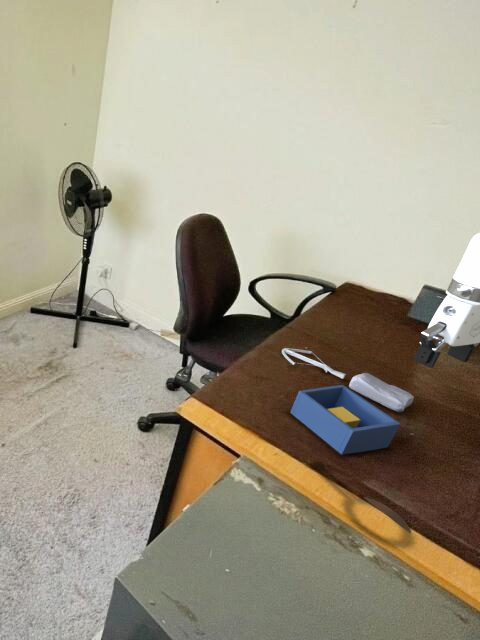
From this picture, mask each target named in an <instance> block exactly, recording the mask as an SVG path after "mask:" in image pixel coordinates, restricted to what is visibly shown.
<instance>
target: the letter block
mask: <svg viewBox="0 0 480 640" xmlns="http://www.w3.org/2000/svg"><path fill="white" fill-rule="evenodd" d="M327 410H328V411H330V412H331V413H332V414H334V415H335V416H336V417H338V418H339V419H340V420H342V421H343V422H344V423H346V424H347V425H348V426H350V427H351V428H352V429H353V428H357V426H358V424H359V422H360V419H359V418H357V417H356V416H355V415H353V414H352V413H350V412H349V411H348V410H346V409H345V408H343V407H337V408H330V409H327Z"/></svg>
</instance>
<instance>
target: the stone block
mask: <svg viewBox="0 0 480 640" xmlns="http://www.w3.org/2000/svg"><path fill="white" fill-rule="evenodd" d="M348 387H349V389H350V390H351V391H353V392H355V393H357V394H360V395H362V396H364V397H366V398H367V399H370V400H372V401H374V402H376V403H378V404H381V405H382V406H384V407H385V408H387V409H389V410H392V411H395V412H397V413H403V412H404V411H405V409H406V408H408V407H410V406H411V405H412V403H413V401H414V398H415V397H414V395H412V394H411V393H410V392H408V391H407V390H404V389H402V388H400V387H398V386H396V385H391V384H388V383H387V382H385V381H383V380H381V379H380V378H378V377H376V376H374V375H372V374H370V373H368V372H362V373H361V374H356V375H354V376H353V377H352V378H351V379H350V382H349V385H348Z"/></svg>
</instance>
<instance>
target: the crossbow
mask: <svg viewBox="0 0 480 640" xmlns="http://www.w3.org/2000/svg"><path fill="white" fill-rule="evenodd" d="M300 353H303V354H310V355H311V354H313V355H314V356H315V357H316V359H318V360H319V361H320V362H319V361H317V360H315V359H311V358H310V357H306V356H304V355H302V354H300ZM281 354H282V355H283V357H284V358H285V359H286V360H287V361H288V362H289V363H290V364H291V365H293V366H295V362H294V361H293V360H292V359H291V358H290V357H289V356H292V357H294V358H297V359H299V360H302V361H304V362H306V366H307V365H309V366H310V365H312V366H313V367H314V366H315V367H318V368H321V369H323V370H324V371H325V373H328V372H329V373H331V374H332V375H334V376H336V377H338V378H340V379H342V380H344V379H345V377H346V375H347V374H346V373H343V372H341V371H337V370H334V369H333V368H332V367H330V366H329V365H327V364H325V363H324V362H323V361H322V360H321V359H320V358H319V357H318V356H317V355H316V354H315V353H313V351H311V350H305V349H298V348H289V347H287V348H286V347H285V348H282V350H281ZM288 355H289V356H288ZM309 363H310V364H309ZM298 364H300V365H303V363H301V362H300V363H299V362H298Z"/></svg>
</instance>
